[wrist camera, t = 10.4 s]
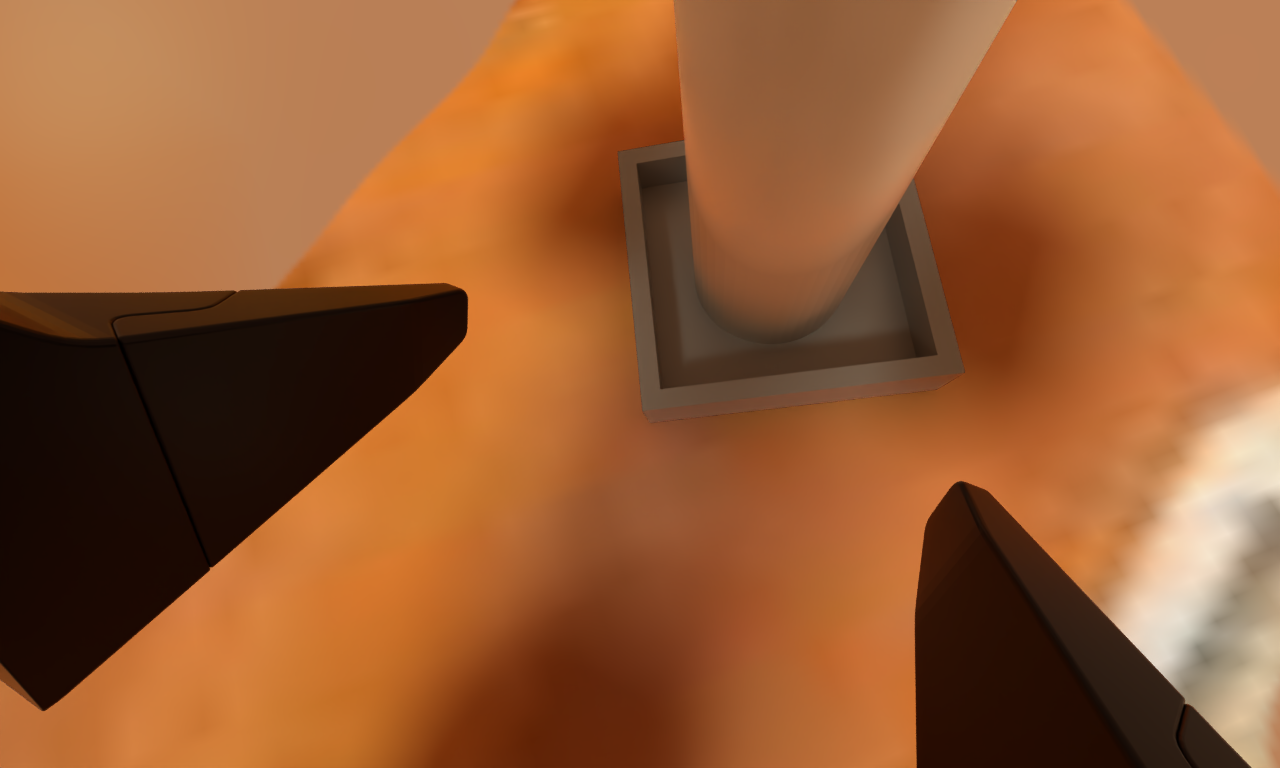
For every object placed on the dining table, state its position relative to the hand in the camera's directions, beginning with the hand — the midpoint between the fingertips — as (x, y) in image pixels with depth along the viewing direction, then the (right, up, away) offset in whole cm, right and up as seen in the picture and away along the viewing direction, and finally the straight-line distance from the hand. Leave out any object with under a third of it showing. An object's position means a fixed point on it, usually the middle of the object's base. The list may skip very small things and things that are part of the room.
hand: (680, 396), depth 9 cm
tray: (+4, +4, +9) cm, 11 cm away
